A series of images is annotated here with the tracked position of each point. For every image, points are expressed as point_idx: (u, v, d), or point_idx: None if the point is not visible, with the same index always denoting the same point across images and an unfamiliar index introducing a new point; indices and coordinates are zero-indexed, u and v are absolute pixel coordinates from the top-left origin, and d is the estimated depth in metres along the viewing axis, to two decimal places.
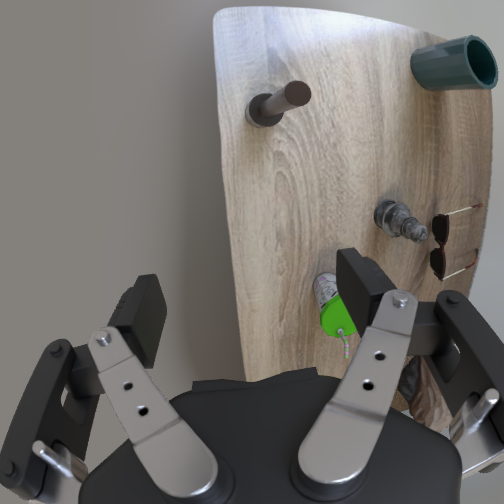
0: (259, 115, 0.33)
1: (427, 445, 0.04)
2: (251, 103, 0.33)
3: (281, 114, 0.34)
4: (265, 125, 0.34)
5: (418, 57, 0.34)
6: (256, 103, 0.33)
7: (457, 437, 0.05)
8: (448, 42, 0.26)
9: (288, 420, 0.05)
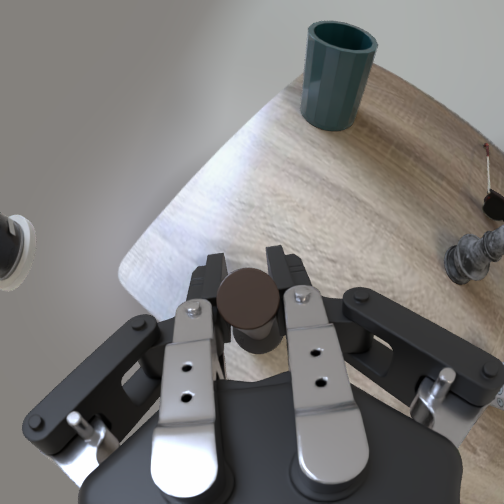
0: (258, 341, 0.24)
1: (427, 445, 0.04)
2: (237, 338, 0.24)
3: None
4: (276, 344, 0.24)
5: (309, 110, 0.36)
6: (242, 332, 0.24)
7: (428, 422, 0.05)
8: (307, 61, 0.30)
9: (288, 420, 0.05)
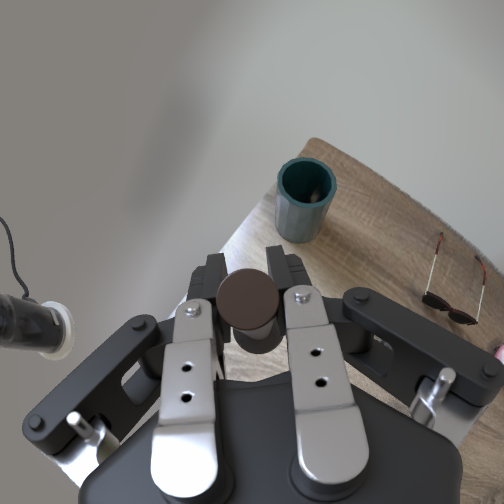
0: (258, 342, 0.24)
1: (427, 445, 0.04)
2: (237, 338, 0.24)
3: None
4: (276, 345, 0.24)
5: (280, 230, 0.50)
6: (242, 333, 0.24)
7: (428, 422, 0.05)
8: (277, 200, 0.44)
9: (288, 420, 0.05)
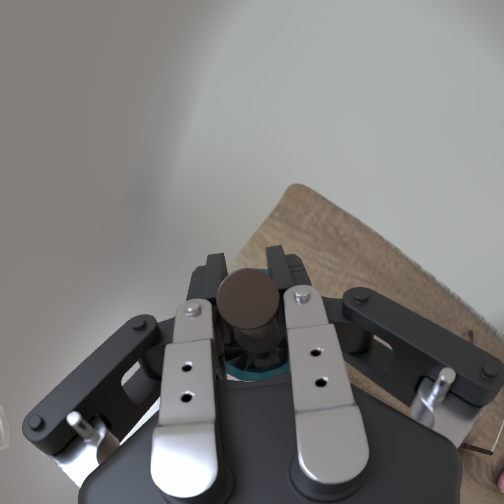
0: (258, 341, 0.24)
1: (427, 445, 0.04)
2: (237, 338, 0.24)
3: None
4: (276, 344, 0.24)
5: None
6: (242, 333, 0.24)
7: (428, 422, 0.05)
8: None
9: (288, 420, 0.05)
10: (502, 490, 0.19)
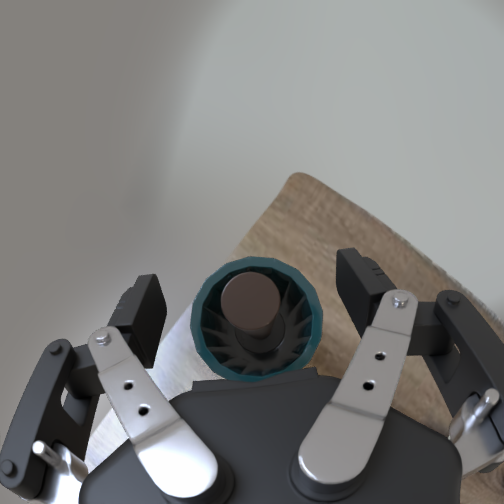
0: (259, 341, 0.25)
1: (427, 445, 0.04)
2: (238, 338, 0.25)
3: (278, 316, 0.25)
4: (277, 344, 0.24)
5: None
6: (243, 333, 0.25)
7: (457, 437, 0.05)
8: None
9: (288, 420, 0.05)
10: None
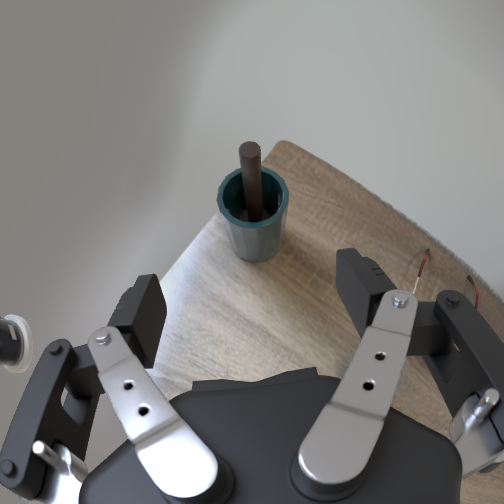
0: None
1: (427, 445, 0.04)
2: None
3: (267, 213, 0.41)
4: None
5: (233, 248, 0.44)
6: None
7: (457, 437, 0.05)
8: None
9: (288, 420, 0.05)
10: None
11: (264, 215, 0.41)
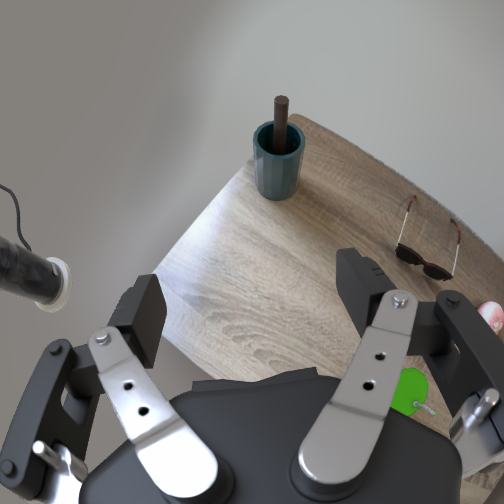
0: None
1: (427, 445, 0.04)
2: None
3: None
4: None
5: (260, 187, 0.55)
6: None
7: (457, 437, 0.05)
8: (254, 157, 0.49)
9: (288, 420, 0.05)
10: None
11: None
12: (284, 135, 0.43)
